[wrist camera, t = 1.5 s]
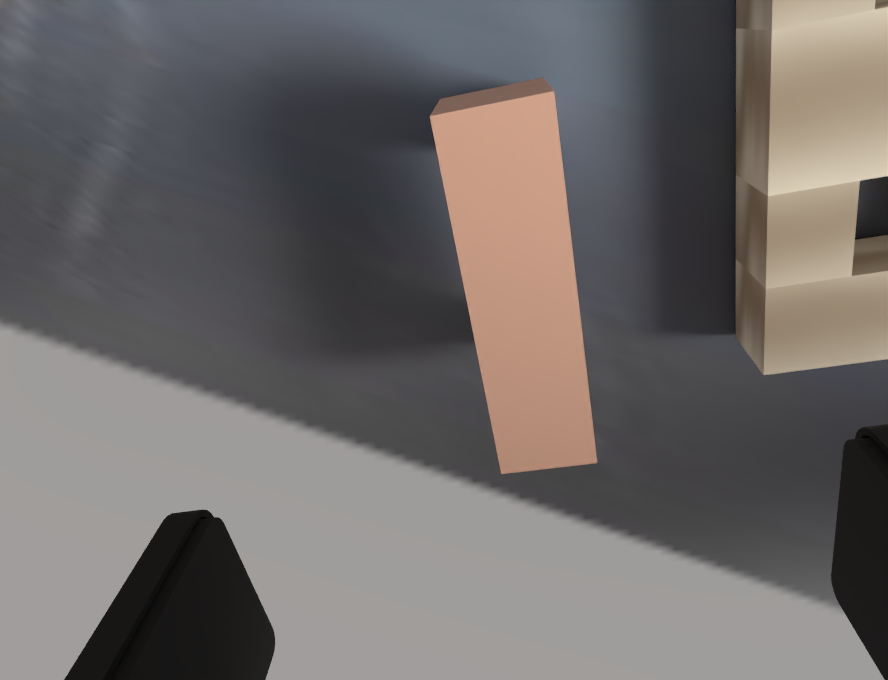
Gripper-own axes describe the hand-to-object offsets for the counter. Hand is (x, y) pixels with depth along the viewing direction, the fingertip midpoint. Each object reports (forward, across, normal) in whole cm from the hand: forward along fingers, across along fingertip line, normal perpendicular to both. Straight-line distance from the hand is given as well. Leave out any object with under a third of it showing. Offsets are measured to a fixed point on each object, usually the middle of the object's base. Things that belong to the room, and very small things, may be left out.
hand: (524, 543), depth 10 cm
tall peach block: (+16, -1, 0) cm, 16 cm away
